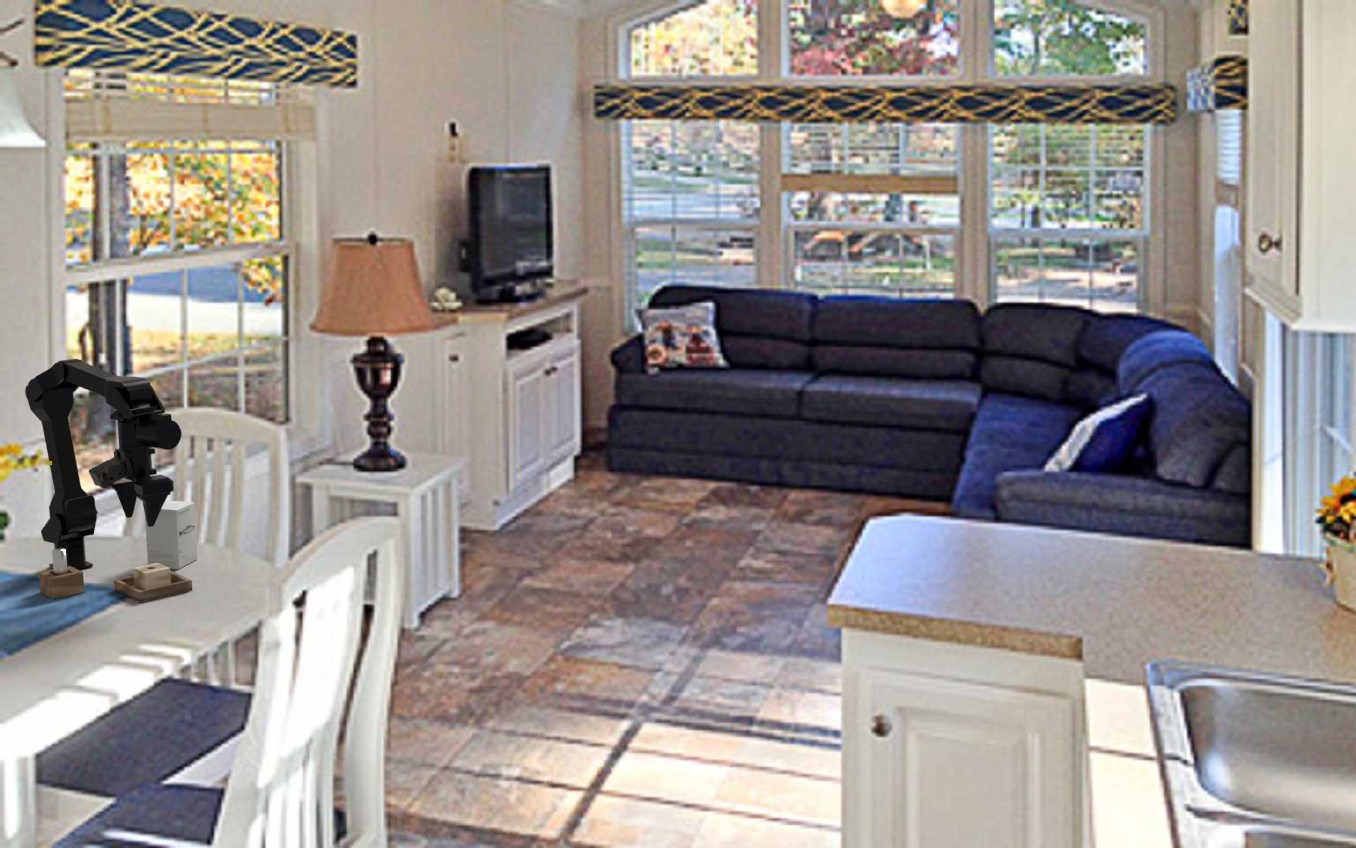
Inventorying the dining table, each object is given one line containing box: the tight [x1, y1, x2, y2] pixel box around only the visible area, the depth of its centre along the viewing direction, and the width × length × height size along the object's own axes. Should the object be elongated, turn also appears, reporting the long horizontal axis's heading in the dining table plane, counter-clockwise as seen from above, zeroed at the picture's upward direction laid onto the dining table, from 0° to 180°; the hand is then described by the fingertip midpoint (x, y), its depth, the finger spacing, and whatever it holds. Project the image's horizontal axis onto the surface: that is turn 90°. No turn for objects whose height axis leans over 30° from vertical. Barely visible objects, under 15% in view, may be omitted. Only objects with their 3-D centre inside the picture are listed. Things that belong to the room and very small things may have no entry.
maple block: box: [132, 563, 171, 590], centre depth 262 cm, size 5×5×4 cm
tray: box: [113, 570, 193, 603], centre depth 262 cm, size 11×11×2 cm
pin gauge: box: [51, 548, 68, 576], centre depth 260 cm, size 2×2×8 cm
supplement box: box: [144, 500, 198, 570], centre depth 278 cm, size 7×7×13 cm
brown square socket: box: [38, 566, 85, 600], centre depth 260 cm, size 6×6×4 cm
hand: (139, 521), depth 262 cm, fingers open, 9 cm apart
